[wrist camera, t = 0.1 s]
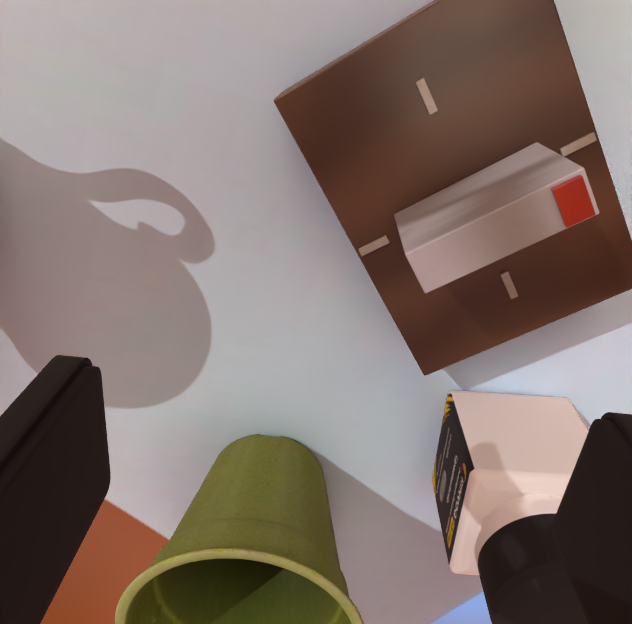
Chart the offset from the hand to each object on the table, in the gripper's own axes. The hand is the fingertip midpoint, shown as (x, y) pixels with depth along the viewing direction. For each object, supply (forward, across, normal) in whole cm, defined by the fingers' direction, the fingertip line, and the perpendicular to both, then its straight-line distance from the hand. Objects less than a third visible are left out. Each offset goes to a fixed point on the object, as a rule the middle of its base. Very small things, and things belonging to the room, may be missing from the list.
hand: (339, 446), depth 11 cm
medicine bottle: (+19, -11, +14) cm, 26 cm away
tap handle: (+16, -5, -1) cm, 17 cm away
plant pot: (+19, +3, +19) cm, 27 cm away
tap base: (+19, -6, -1) cm, 20 cm away
